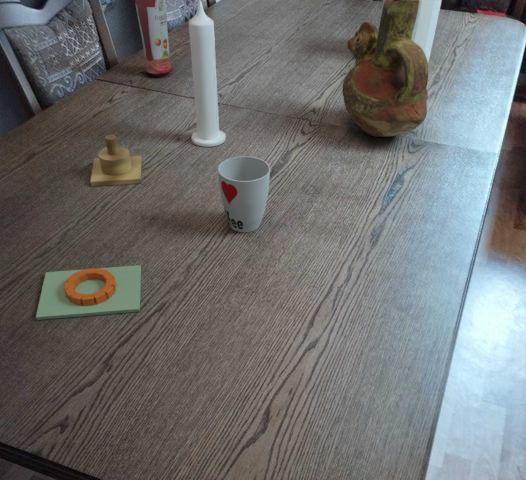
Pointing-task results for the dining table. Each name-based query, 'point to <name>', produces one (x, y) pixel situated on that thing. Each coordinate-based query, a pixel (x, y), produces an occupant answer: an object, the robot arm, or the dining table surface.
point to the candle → (204, 80)
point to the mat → (120, 302)
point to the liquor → (154, 36)
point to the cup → (244, 191)
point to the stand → (115, 165)
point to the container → (425, 24)
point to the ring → (95, 297)
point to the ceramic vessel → (387, 73)
